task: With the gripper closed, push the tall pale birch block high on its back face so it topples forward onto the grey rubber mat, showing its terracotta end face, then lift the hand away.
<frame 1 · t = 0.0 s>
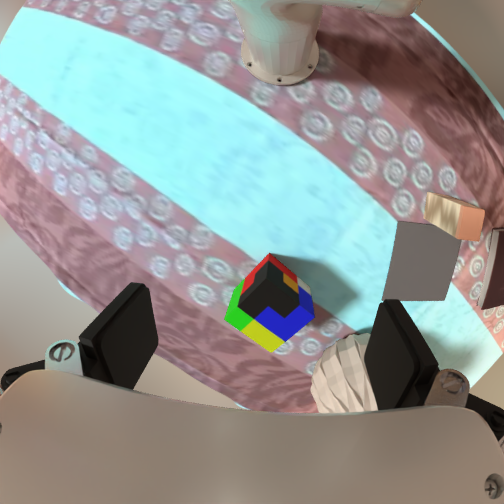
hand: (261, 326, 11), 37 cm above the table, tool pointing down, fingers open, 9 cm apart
vase: (352, 354, 56), on the table
puzzle toy: (271, 287, 51), on the table
book: (500, 265, 45), on the table
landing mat: (424, 264, 46), on the table
tall block: (435, 206, 42), on the table
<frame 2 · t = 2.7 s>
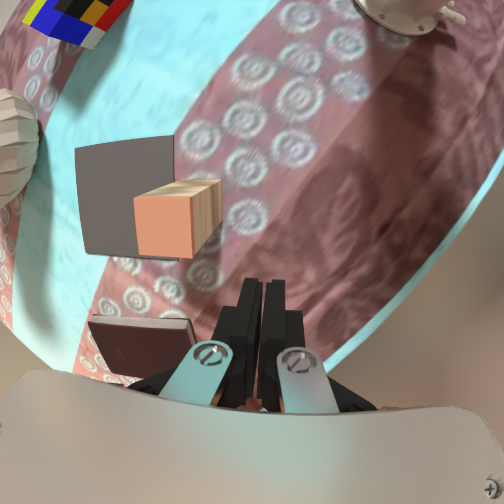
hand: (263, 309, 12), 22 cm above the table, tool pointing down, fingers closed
vase: (22, 144, 32), on the table
puzzle toy: (96, 15, 24), on the table
book: (148, 344, 44), on the table
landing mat: (121, 200, 34), on the table
tall block: (201, 199, 33), on the table
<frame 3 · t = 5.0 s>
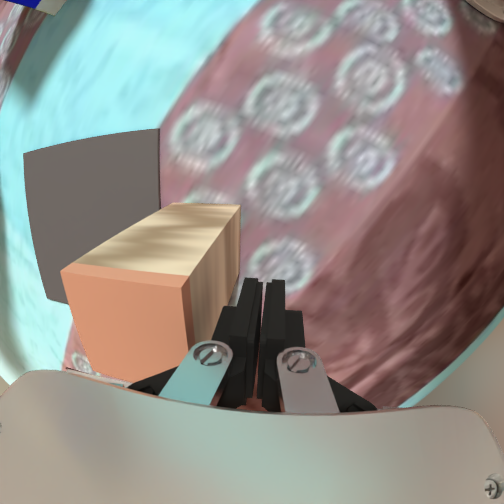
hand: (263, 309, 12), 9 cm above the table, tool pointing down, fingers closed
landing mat: (83, 231, 21), on the table
tall block: (206, 237, 20), on the table, touching gripper
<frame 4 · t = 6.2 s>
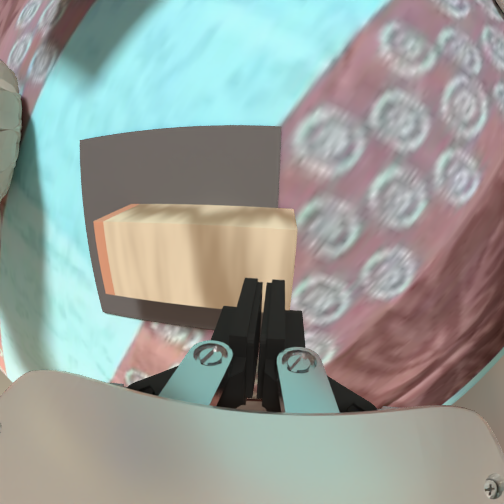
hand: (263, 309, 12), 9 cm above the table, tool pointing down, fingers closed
vase: (0, 136, 19), on the table
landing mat: (169, 235, 20), on the table
tall block: (292, 257, 17), point 3 cm above the table, tilted 90°, touching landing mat
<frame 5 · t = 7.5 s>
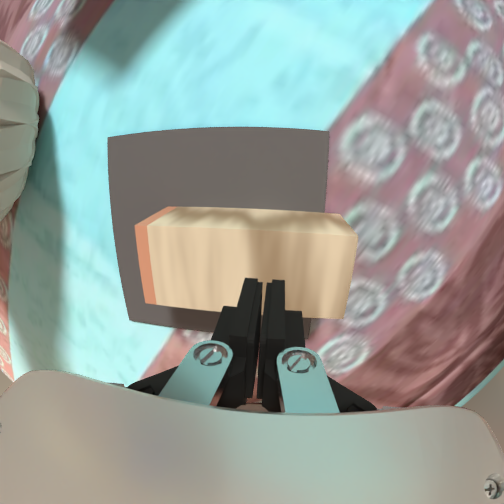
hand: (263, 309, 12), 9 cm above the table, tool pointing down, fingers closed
vase: (12, 133, 18), on the table
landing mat: (208, 240, 20), on the table
tall block: (342, 262, 17), point 3 cm above the table, tilted 90°, touching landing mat
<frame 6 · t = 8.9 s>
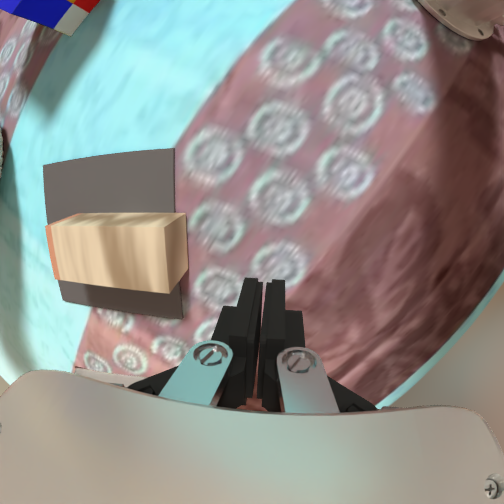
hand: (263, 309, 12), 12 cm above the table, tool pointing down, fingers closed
book: (143, 401, 33), on the table
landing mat: (103, 237, 24), on the table
tall block: (177, 250, 21), point 3 cm above the table, tilted 90°, touching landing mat
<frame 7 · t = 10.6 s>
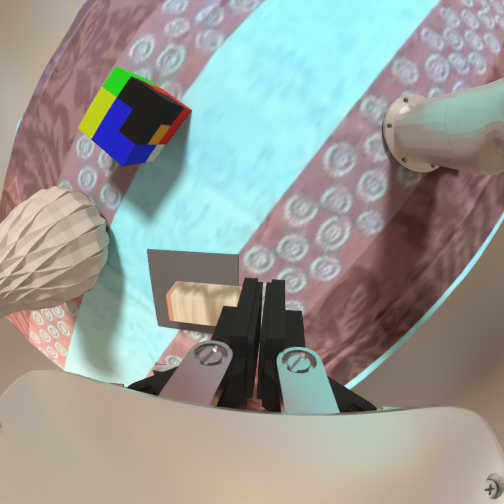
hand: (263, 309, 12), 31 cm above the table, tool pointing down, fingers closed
vase: (84, 230, 46), on the table
puzzle toy: (151, 119, 38), on the table
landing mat: (193, 294, 48), on the table
tall block: (242, 307, 45), point 3 cm above the table, tilted 90°, touching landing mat
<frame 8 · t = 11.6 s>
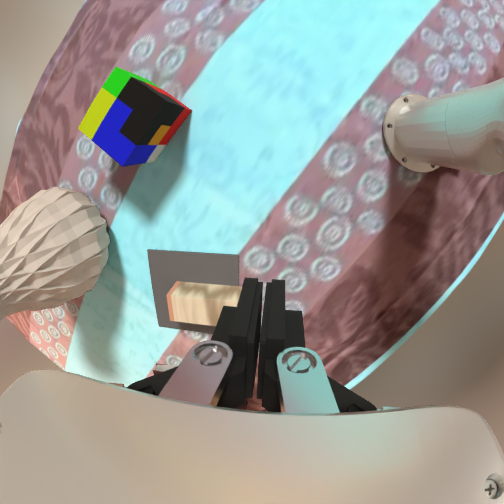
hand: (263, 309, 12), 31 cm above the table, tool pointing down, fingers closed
vase: (84, 230, 46), on the table
puzzle toy: (151, 119, 38), on the table
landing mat: (194, 294, 48), on the table
tall block: (242, 307, 45), point 3 cm above the table, tilted 90°, touching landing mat
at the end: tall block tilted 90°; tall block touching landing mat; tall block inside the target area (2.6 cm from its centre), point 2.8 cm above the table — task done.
